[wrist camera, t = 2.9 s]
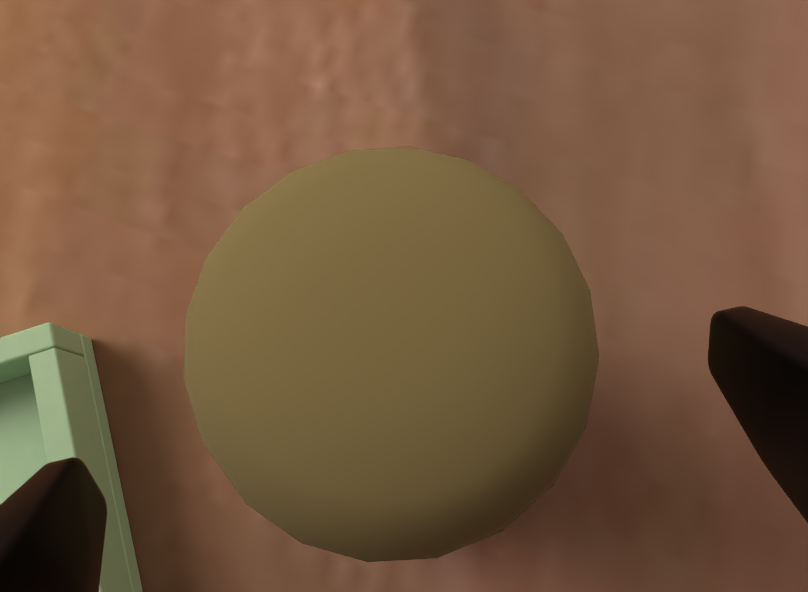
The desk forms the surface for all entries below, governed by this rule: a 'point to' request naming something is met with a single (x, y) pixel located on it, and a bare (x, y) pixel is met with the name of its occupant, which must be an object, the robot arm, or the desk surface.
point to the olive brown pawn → (391, 354)
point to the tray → (62, 430)
